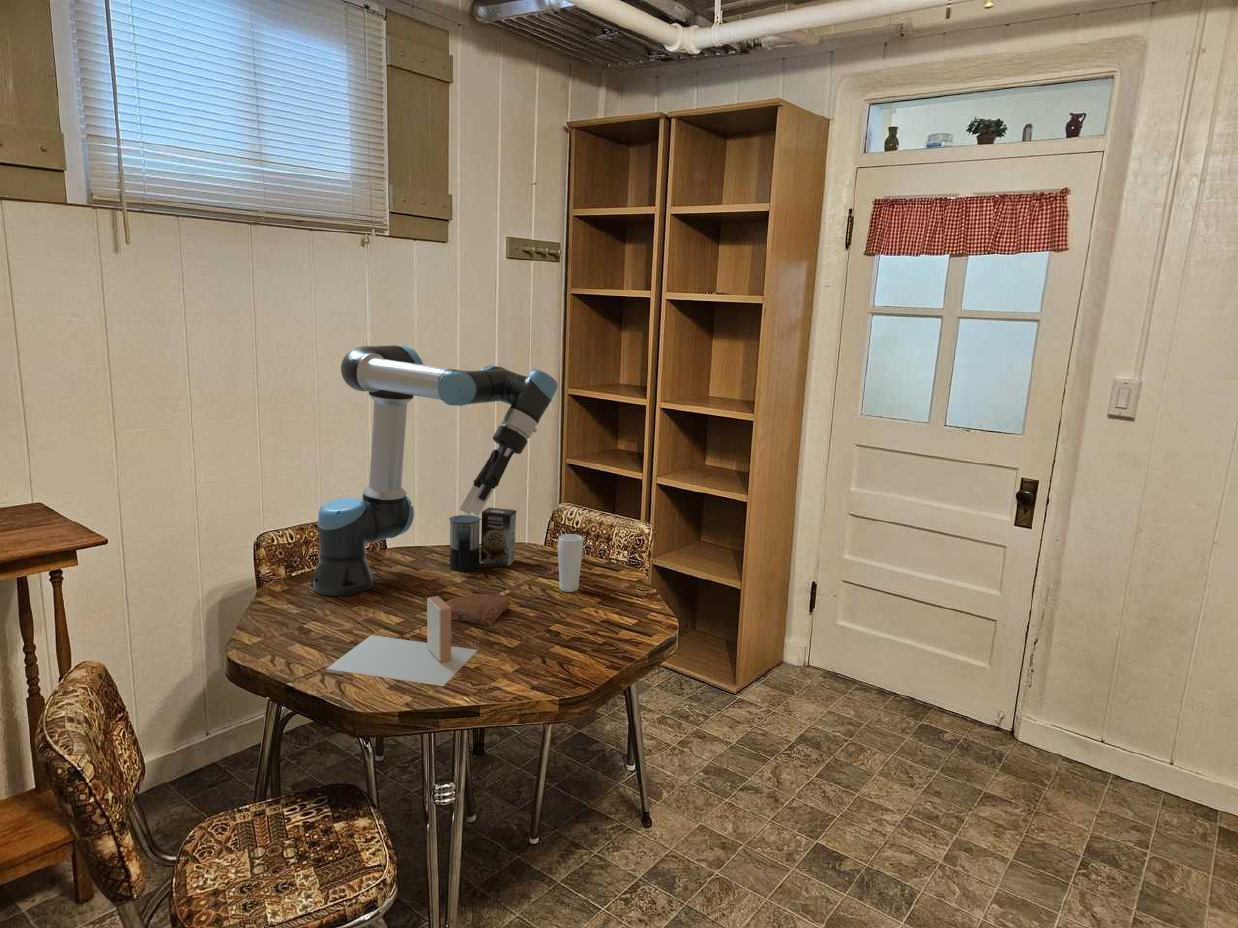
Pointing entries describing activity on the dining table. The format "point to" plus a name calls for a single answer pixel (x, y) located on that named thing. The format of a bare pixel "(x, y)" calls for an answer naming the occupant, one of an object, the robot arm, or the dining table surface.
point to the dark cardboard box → (498, 535)
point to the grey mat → (400, 661)
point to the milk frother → (466, 543)
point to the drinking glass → (569, 561)
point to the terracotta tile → (439, 628)
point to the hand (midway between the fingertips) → (468, 512)
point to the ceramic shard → (478, 608)
